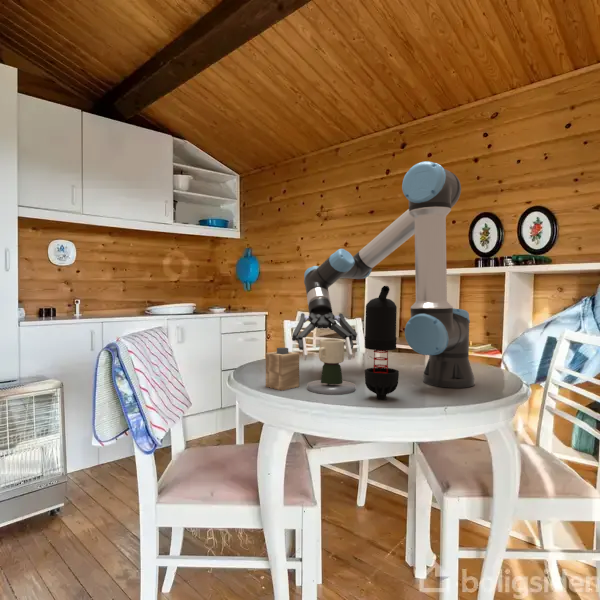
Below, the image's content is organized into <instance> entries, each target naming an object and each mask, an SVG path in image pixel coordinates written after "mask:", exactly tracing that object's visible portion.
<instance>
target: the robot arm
mask: <svg viewBox="0 0 600 600" xmlns="http://www.w3.org/2000/svg"><path fill="white" fill-rule="evenodd" d="M401 190H402V193H403V195H404V197H405V198H406V199H407V200H408V209H407V210H406V211H405V212H403V213H402V214H401V215H400V216H398V217H397V218H396V219H395V220H394V221H393V222H391V224H389V225H388V226H386V227H385V229H383V230H382V231H381V232H380V233H378V234H377V235H376V236H375V237H373V239H372V240H371V241H370V242H368V243H367V244H366V245H365V246H364V247H362V248H361V249H360V250H359V251H357V253H356V254H354V255H352V253H351V252H349V251H348V250H346V249H344V248H339V249H337V250H336V251H334V253H332V254H331V255H330V256H328V258H326V260H324V261H323V262H322V263H321V264H320V265H319V266H318V265H312V266H311V267H308V268H307V269H306V270H305V271H304V274H303V275H304V280H303V283H304V287H305V292H306V293H305V294H306V299H307V306H308V315H305V313H304V312H302V313H300V317H299V321H298V323H297V325H296V326H295V328H294V331H293V333H292V336H291V340H292V341H296V342H297V344H298V349H299V350H300V351H302V356H303V357H302V358H303V361H307V358H308V349H307V342H306V338H307V336H308V335H309V334H310V333H311V332H312V331H314V330H315V328H317V329H329V330H331V331H333V332H334V333H336V334H337V335H338V336H340V337H341V338H342V339H343V340H344V347H345V351H346V355H347V359H348V361H349V360H352V357H353V351H352V350H353V349H354V345H355V344H354V341H357V340H356V339H357V337H358V333H357V332H356V331H355V329H354V328H353V327H352V326H351V324H350V323H348V321H347V320H346V319H345V317H344V314H343V313H341V312H340V313H339V314H338V315H334V313H333V308H332V304H331V303H332V302H331V297H330V293H329V288H330V287H331V286H332V285H333V284H334V283H336V282H337V281H338V280H339V279H351V280H352V279H355V280H361V279H362V280H363V279H366V278H368V277H369V276H370V275H371V273H372V270H373V268H374V267H376V266H377V265H378V264H379V263H381V262H382V261H383V260H384V259H385V258H387V257H389V255H391V254H392V253H394V252H395V250H397V249H398V248H399V247H401V245H403V244H404V243H405V242H407V241H408V240H409V239H410V238H411V237H413V236H414V257H415V258H414V267H415V268H414V269H415V270H414V271H415V302H414V303H413V304H412V305H411V306H410V318H409V319H408V321H407V322H406V324H405V327H404V337H405V340H406V343H407V345H408V346H409V347H410V348H411V349H412V350H413V351H414V352H415V353H418V354H420V355H423V356H428V360H427V362H426V365H425V368H424V372H423V375H422V382H423V383H424V384H426V385H430V386H433V387H434V386H435V387H441V388H453V389H455V388H457V389H459V388H469V387H470V388H471V387H474V386H475V376H474V375H475V374H474V372H473V369H472V366H471V361H470V360H469V358H470V355H469V354H470V353H469V352H470V351H469V348H470V343H469V342H470V323H471V320H470V313H469V311H467V310H465V309H462V308H454V306H453V305H451V303H450V302H449V301H448V289H447V288H448V286H447V285H448V280H447V279H448V278H447V276H448V274H447V230H446V229H447V222H446V221H447V220H446V219H447V216H449V213H450V212H451V211H452V208H453V207H454V206H455V205H456V204H457V202H458V201H459V199H460V196H461V193H462V185H461V181H460V179H459V178H458V176H457V175H456V174H455V173H453V172H452V171H450V170H448V169H447V168H444V167H443V166H442V165H441V164H439V163H437V162H433V161H429V160H427V161H421V162H418V163H415V164H414V165H413V166H412V167H410V168H409V170H408V171H407V172H406V173H405V174H404V177H403V179H402V185H401ZM307 321H308V322H309V324H308V325H307V326H306V327H305V328H304V329H303V327H304V323H306V322H307ZM302 329H303V330H302Z"/></svg>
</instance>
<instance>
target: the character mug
mask: <svg viewBox="0 0 600 600" xmlns="http://www.w3.org/2000/svg"><path fill="white" fill-rule="evenodd" d="M318 357H319V358H318V359H319V360H320V362H322V363H323V365H322V368H321V369H322V370H321V375H320V376H321V377H320V380H321V383H327V385H330V384H342V381H343V373H342V367H341V363H344V362H345V339H339V338H322V339H320V340H319V348H318Z"/></svg>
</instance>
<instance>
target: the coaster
mask: <svg viewBox="0 0 600 600" xmlns="http://www.w3.org/2000/svg"><path fill="white" fill-rule="evenodd" d="M306 389H308V390H307V391H309V392H311V393H315V394H320V395H331V396H332V395H335V396H336V395H348V394H351V392H352V393H354V392H355V391H356V384H355V383H353V382H351V381H347V380H342V384H330V385H327V383H321V379H318V380H311V381H309V382H307V384H306Z"/></svg>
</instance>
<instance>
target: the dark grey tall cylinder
mask: <svg viewBox="0 0 600 600" xmlns="http://www.w3.org/2000/svg"><path fill="white" fill-rule="evenodd" d="M276 352H277V354H288V352H289V348H288V347H277V348H276Z"/></svg>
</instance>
